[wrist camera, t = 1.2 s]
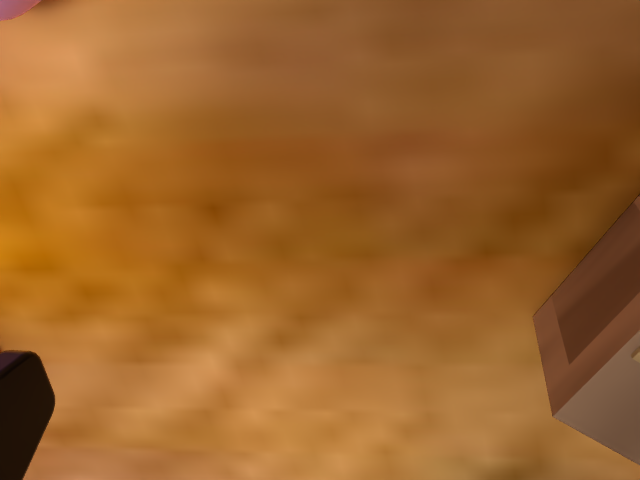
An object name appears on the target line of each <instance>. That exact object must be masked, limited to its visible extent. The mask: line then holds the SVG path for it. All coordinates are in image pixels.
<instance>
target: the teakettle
mask: <svg viewBox="0 0 640 480" xmlns="http://www.w3.org/2000/svg"><path fill="white" fill-rule="evenodd" d="M40 1H41V0H0V21H1V20H8V19H13V18H15V17H18V16H20V15H22V14H24V13H25V12H27V11H28V10H30V9H31V8H32V7H34V6H35V5H36V4H38V3H39V2H40Z"/></svg>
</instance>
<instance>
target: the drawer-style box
mask: <svg viewBox="0 0 640 480" xmlns="http://www.w3.org/2000/svg"><path fill="white" fill-rule="evenodd" d="M533 320H534V325H535V330H536V335H537V340H538V345H539V350H540V355H541V360H542V365H543V371H544V376H545V381H546V386H547V391H548V396H549V401H550V406H551V411H552V416H553V417H554V418H556V419H558V420H559V421H561V422H563V423H565V424H567V425H568V426H570V427H572V428H574V429H576V430H577V431H579V432H581V433H583V434H585V435H586V436H588V437H590V438H592V439H594V440H595V441H597V442H599V443H601V444H603V445H604V446H606V447H608V448H610V449H612V450H613V451H615V452H617V453H619V454H621V455H622V456H624V457H626V458H628V459H630V460H631V461H633V462H635V463H637V464H638V465H640V195H639V196H638V197H637V198H636V199H635V201H634V202H633V203H632V204H631V205H630V206H629V207H628V209H627V210H626V211H625V212H624V213H623V214H622V215H621V217H620V218H619V219H618V220H617V221H616V222H615V223H614V225H613V226H612V227H611V228H610V229H609V230H608V231H607V233H606V234H605V235H604V236H603V237H602V238H601V239H600V241H599V242H598V243H597V244H596V245H595V246H594V247H593V249H592V250H591V251H590V252H589V253H588V254H587V255H586V257H585V258H584V259H583V260H582V261H581V262H580V263H579V265H578V266H577V267H576V268H575V269H574V270H573V271H572V273H571V274H570V275H569V276H568V277H567V278H566V279H565V281H564V282H563V283H562V284H561V285H560V286H559V287H558V289H557V290H556V291H555V292H554V293H553V294H552V296H551V297H550V298H549V299H548V300H547V301H546V302H545V304H544V305H543V306H542V307H541V308H540V309H539V310H538V312H537V313H536V314H535V315H534V316H533Z"/></svg>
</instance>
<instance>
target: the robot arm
mask: <svg viewBox="0 0 640 480" xmlns="http://www.w3.org/2000/svg"><path fill="white" fill-rule="evenodd" d="M54 407H55V395H54V392H53V389H52V386H51V384H50V381H49V379H48V376H47V374H46V371H45V368H44V366H43V363H42V361H41V359H40V357H39V356H38V355H37V354H36V353H34V352H31V351H18V350H9V351H4V352H2V353H0V480H23V478H24V476H25V473H26V471H27V469H28V467H29V465H30V462H31V460H32V458H33V456H34V454H35V451H36V449H37V447H38V445H39V443H40V440H41V438H42V436H43V434H44V431H45V429H46V427H47V425H48V423H49V420H50V418H51V416H52V414H53V411H54Z"/></svg>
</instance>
